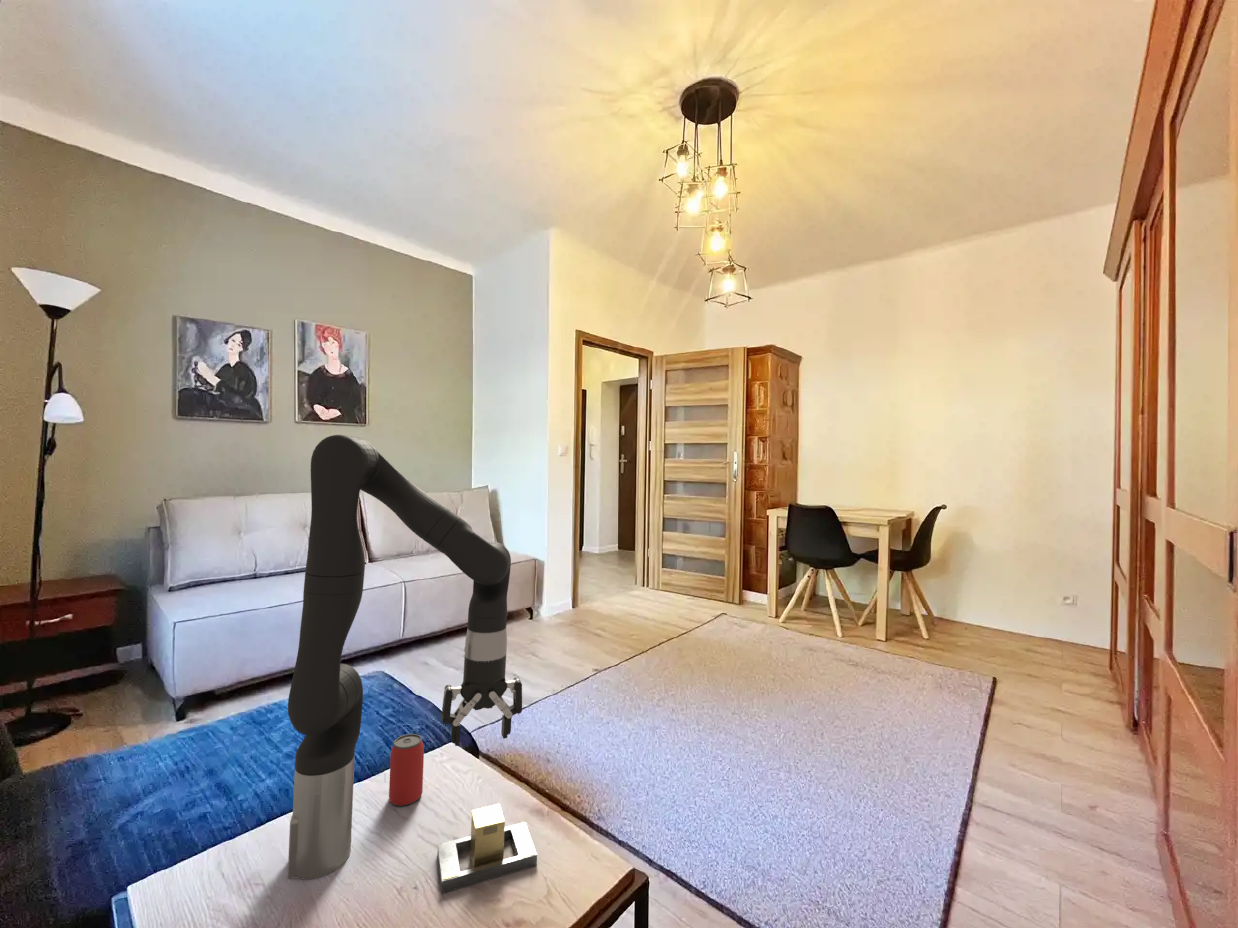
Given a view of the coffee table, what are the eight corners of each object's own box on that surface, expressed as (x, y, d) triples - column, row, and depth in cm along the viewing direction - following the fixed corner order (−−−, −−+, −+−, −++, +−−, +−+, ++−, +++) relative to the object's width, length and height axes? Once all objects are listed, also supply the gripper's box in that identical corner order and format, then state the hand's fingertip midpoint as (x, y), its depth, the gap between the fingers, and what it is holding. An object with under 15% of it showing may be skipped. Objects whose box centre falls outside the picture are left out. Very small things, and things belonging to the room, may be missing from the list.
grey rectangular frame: (441, 893, 83) (441, 880, 83) (437, 855, 91) (437, 843, 91) (536, 865, 89) (537, 853, 89) (524, 832, 97) (525, 821, 98)
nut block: (474, 875, 87) (475, 828, 87) (470, 854, 91) (471, 809, 92) (503, 867, 89) (504, 820, 89) (498, 847, 93) (499, 803, 94)
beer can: (418, 784, 111) (420, 729, 112) (425, 800, 106) (427, 742, 106) (386, 794, 108) (388, 737, 108) (391, 811, 102) (394, 751, 103)
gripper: (447, 663, 87) (441, 757, 87) (528, 655, 93) (523, 744, 92) (443, 648, 94) (439, 736, 94) (519, 641, 100) (515, 724, 99)
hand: (481, 739), depth 93 cm, fingers open, 8 cm apart
